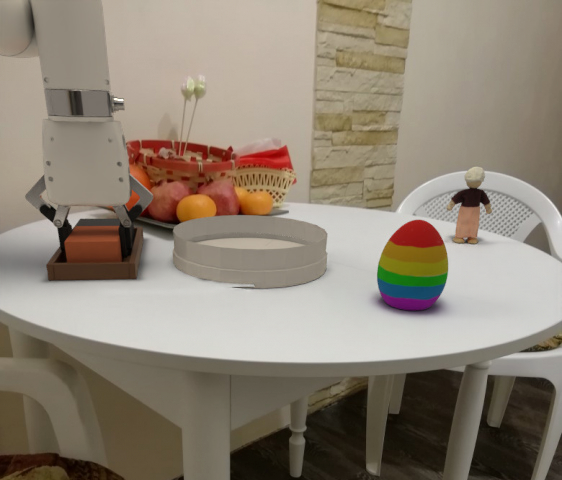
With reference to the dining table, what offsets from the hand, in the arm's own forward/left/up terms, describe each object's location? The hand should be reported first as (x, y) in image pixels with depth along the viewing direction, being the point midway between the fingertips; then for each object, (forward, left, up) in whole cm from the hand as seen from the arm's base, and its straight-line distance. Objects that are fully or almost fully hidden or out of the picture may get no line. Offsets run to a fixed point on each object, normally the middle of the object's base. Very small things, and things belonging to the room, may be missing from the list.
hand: (98, 254), depth 73 cm
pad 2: (0, +10, -2) cm, 10 cm away
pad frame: (0, +5, -2) cm, 5 cm away
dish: (+21, +2, -2) cm, 21 cm away
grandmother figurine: (+61, +15, -2) cm, 63 cm away
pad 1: (0, 0, -1) cm, 1 cm away
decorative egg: (+38, -16, -2) cm, 41 cm away
